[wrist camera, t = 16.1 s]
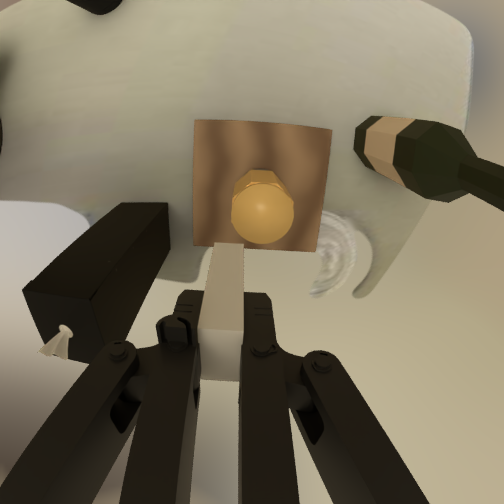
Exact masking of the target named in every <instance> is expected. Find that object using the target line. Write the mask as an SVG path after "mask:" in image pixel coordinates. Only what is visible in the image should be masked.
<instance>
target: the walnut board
mask: <svg viewBox="0 0 504 504" xmlns="http://www.w3.org/2000/svg"><path fill="white" fill-rule="evenodd" d="M331 137H332V130H330V129H323V128H316V127H308V126H299V125H290V124H280V123H268V122H254V121H235V120H195V123H194V154H193V243H194V246H210V247H214V243H235V244H244V248H248V249H267V250H284V251H285V250H286V251H302V252H303V251H304V252H315V251H316V245H317V239H318V233H319V227H320V220H321V214H322V207H323V200H324V194H325V186H326V179H327V171H328V163H329V155H330V146H331ZM257 168H263V169H267V170H269V171H273V172H274V174H275V175H276V176H277V177H278V178H279V179H280V180H281V182H282V183H283V184H284V185H285V186H286V188H287V190H288V192H289V194H290V196H291V198H292V200H293V202H294V204H293V210H294V218H293V222H292V225H291V227H290V229H289V231H288V232H287V233H286V234H285V235H284V236H283V237H282V238H280V239H279V240H277V241H275V242H272V243H268V244H257V243H252V242H250V241H248V240H246V239H244V238H243V237H241V236H240V235H239V234H238V232H237V231H236V230H235V228H234V226H233V223H232V222H231V211H232V197H233V192H234V187H235V183H236V182H237V181H238V180H239V179H241V178H242V177H243V176H244V174H246V173H247V172H248V171H250V170H252V169H257Z"/></svg>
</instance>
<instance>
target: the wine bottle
mask: <svg viewBox="0 0 504 504" xmlns="http://www.w3.org/2000/svg"><path fill="white" fill-rule="evenodd" d="M67 1H69V2H71V3H73V4H75V5H77V6H79V7H81V8H83V9H85V10H87V11H89V12H91V13H93V14H97V15H103V14H106V13H109V12H110V11H112V10H114V9H115V8H116V7H117V6H118V5H119V4H120V3H121V2H122V0H67Z"/></svg>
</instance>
